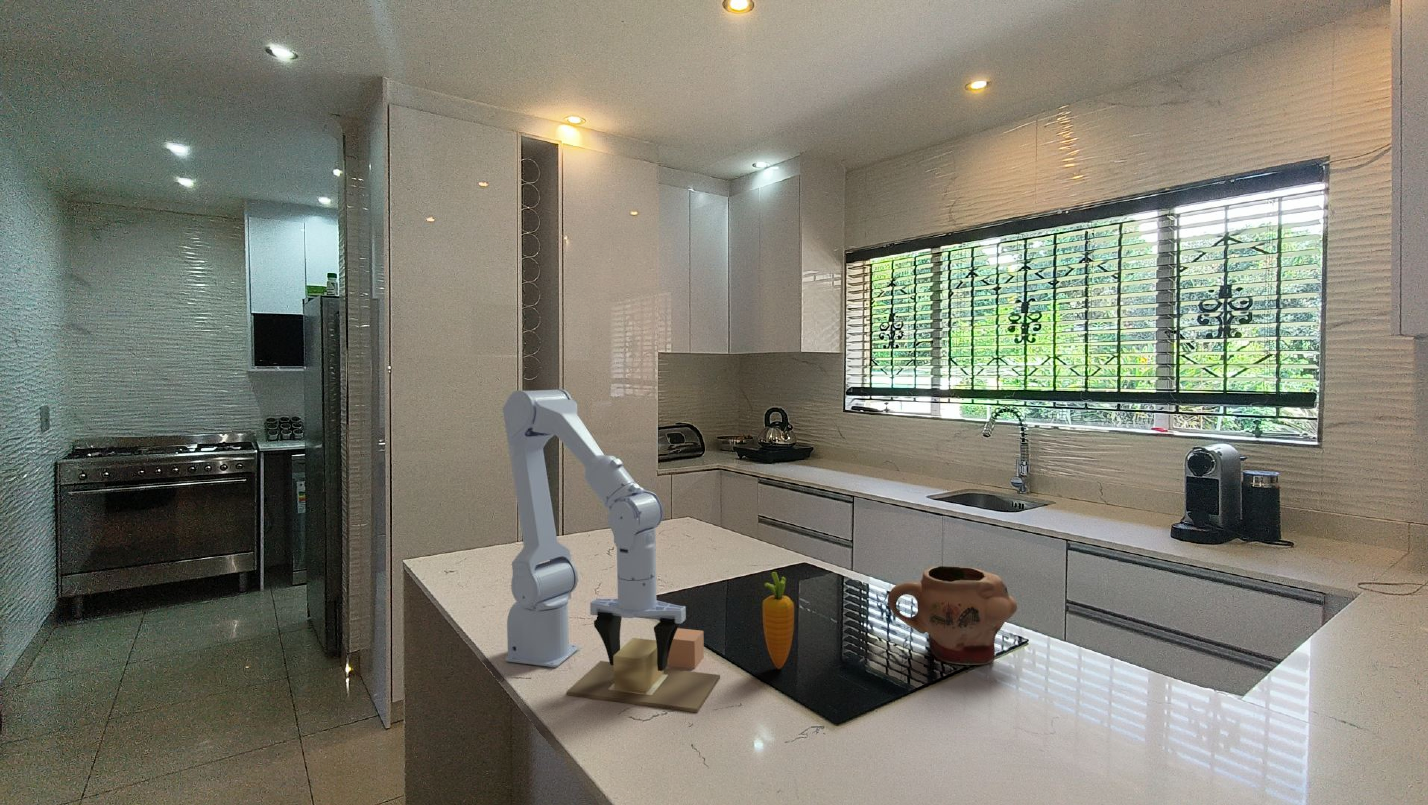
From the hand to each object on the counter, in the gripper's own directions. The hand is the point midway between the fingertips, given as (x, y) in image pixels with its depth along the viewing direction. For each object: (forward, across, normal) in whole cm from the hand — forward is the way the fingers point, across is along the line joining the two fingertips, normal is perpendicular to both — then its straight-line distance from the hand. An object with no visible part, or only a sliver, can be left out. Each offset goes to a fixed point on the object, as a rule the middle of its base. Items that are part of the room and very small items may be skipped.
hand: (638, 665), depth 102 cm
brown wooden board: (+3, +1, 0) cm, 3 cm away
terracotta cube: (+3, +4, +10) cm, 11 cm away
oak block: (+2, 0, 0) cm, 3 cm away
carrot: (+3, +19, +11) cm, 22 cm away
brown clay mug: (+3, +45, +23) cm, 51 cm away
